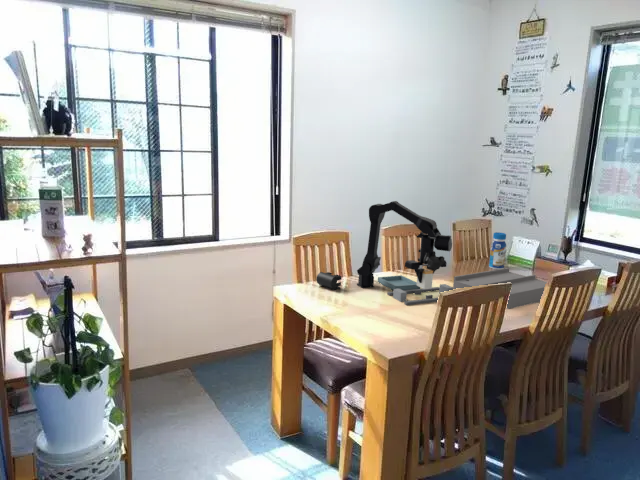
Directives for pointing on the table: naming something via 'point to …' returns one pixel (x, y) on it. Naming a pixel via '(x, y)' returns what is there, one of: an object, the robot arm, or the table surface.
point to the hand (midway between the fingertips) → (424, 282)
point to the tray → (398, 282)
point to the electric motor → (328, 280)
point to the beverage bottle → (498, 251)
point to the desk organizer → (522, 286)
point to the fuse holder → (402, 294)
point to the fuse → (426, 279)
